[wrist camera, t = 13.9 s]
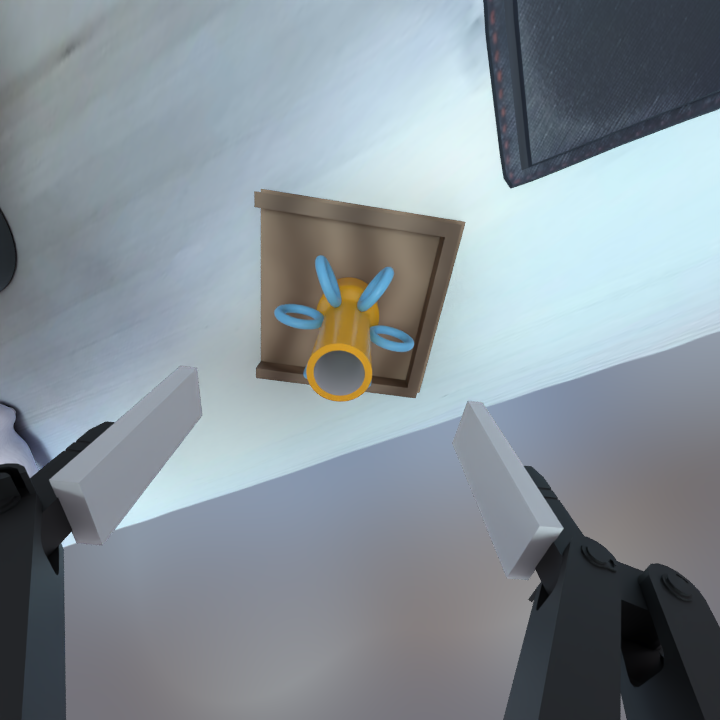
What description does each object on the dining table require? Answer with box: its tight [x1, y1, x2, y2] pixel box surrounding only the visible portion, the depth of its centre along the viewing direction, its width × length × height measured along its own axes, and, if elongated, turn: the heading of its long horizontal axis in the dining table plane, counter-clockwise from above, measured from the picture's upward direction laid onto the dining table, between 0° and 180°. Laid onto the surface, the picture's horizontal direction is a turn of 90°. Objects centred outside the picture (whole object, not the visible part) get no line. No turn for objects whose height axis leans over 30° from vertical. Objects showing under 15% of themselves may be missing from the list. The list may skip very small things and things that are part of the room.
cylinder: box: [274, 255, 414, 401], centre depth 25 cm, size 12×10×15 cm
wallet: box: [483, 0, 720, 188], centre depth 23 cm, size 20×2×15 cm
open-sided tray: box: [254, 189, 465, 398], centre depth 31 cm, size 19×19×3 cm
